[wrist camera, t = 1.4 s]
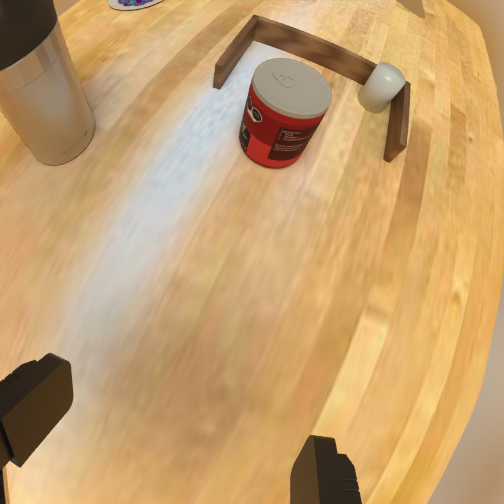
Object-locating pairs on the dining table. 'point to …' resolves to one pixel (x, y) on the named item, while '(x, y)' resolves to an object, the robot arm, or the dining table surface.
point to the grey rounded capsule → (381, 87)
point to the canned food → (282, 111)
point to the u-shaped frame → (324, 56)
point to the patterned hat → (129, 1)
